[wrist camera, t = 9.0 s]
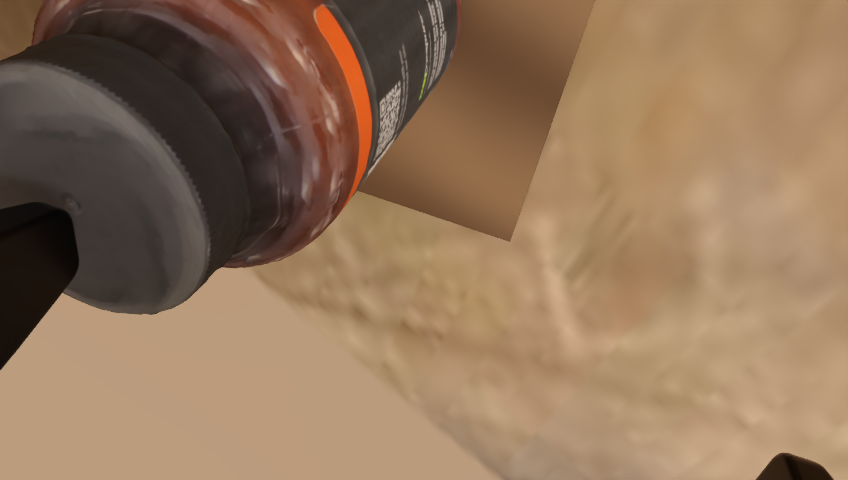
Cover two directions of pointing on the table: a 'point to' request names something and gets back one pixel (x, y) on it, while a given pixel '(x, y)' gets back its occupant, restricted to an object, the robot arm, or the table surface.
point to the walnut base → (485, 115)
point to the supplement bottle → (207, 128)
